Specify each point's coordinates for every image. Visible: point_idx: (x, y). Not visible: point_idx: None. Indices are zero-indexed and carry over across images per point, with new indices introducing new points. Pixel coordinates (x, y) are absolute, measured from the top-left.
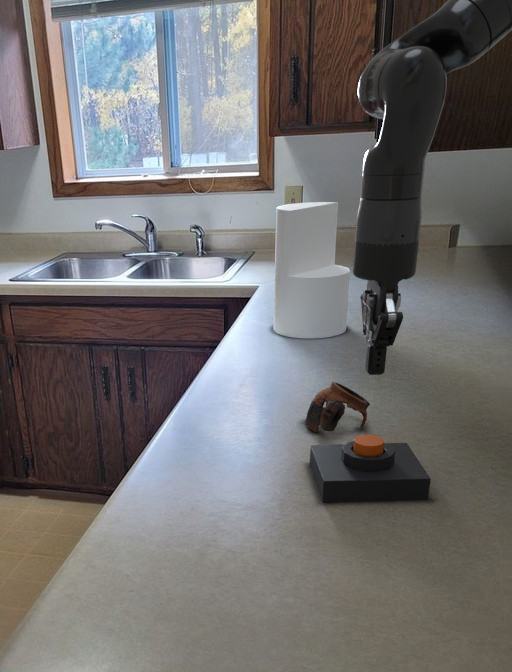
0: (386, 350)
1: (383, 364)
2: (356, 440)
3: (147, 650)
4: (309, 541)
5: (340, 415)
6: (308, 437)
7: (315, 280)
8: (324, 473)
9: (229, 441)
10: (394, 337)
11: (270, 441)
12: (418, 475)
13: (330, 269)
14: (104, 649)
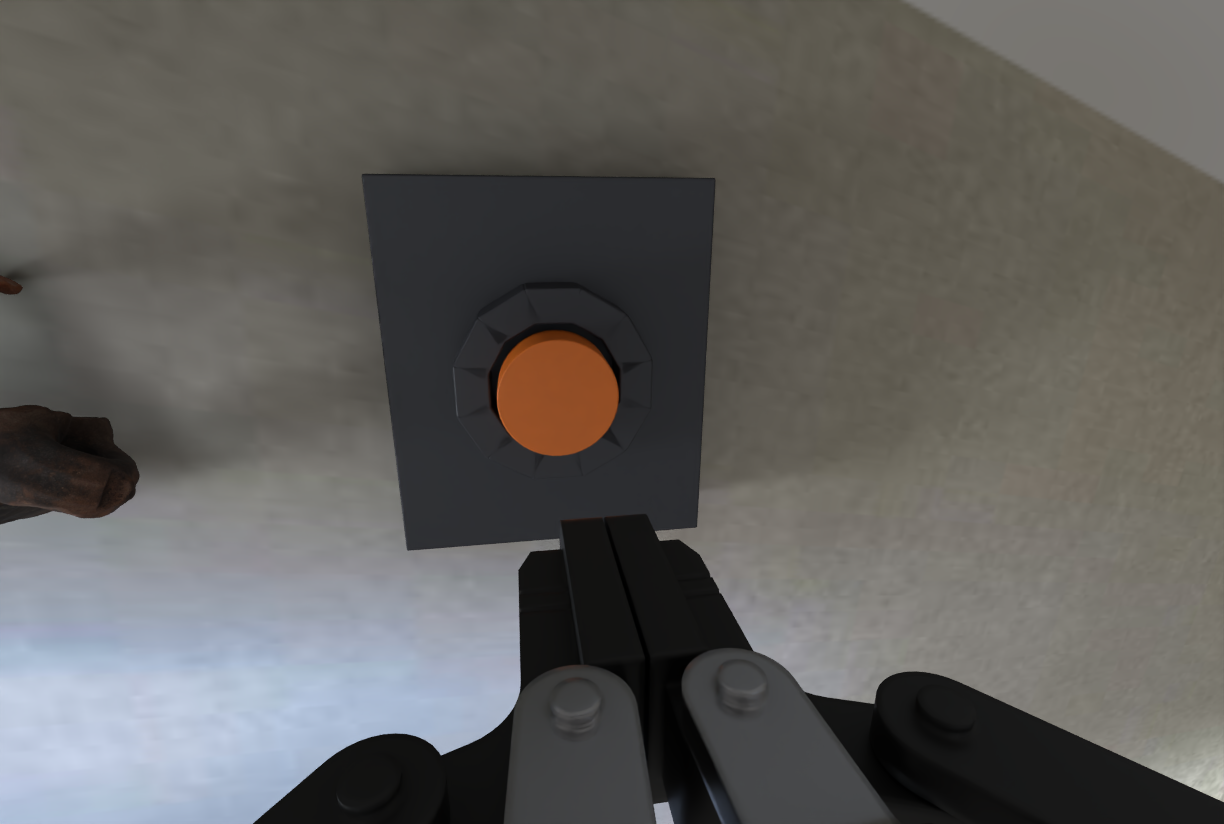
0: (693, 625)
1: (707, 572)
2: (559, 448)
3: None
4: (861, 536)
5: (56, 419)
6: (154, 503)
7: None
8: None
9: (234, 740)
10: (1156, 787)
11: (216, 625)
12: (687, 217)
13: None
14: None
